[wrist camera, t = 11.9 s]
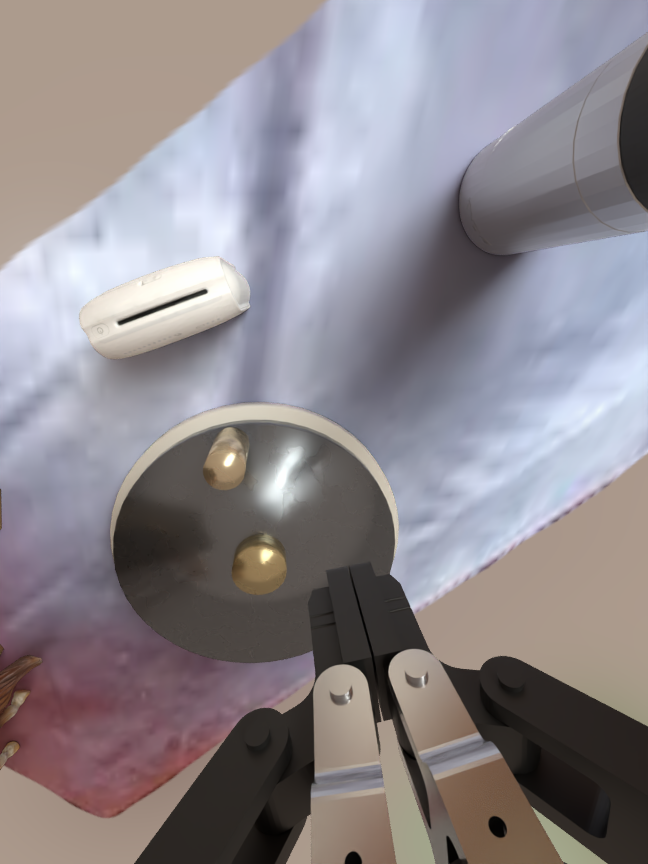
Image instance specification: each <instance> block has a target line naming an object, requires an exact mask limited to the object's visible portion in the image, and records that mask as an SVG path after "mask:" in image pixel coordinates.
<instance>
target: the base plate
mask: <svg viewBox="0 0 648 864" xmlns="http://www.w3.org/2000/svg"><path fill="white" fill-rule="evenodd" d="M242 420H275V421H283V422H289V423H293V424H297V425H301V426H305V427H308V428H310V429H313V430H315V431H318V432H320V433H323V434H325V435H327V436H329V437H330V438H332V439H334V440H336V441H337V442H339V443H341V444H342V445H343V446H345V447H346V448H347V449H349V450H350V451H351V452H352V453H354V454H355V455H356V456H357V457H358V458H359V459H360V460H361V461H362V462H363V463H364V464H365V465H366V467H367V468H368V469H369V471H370V472H371V474H372V475H373V476H374V478H375V479H376V481H377V483H378V485H379V486H380V488H381V490H382V492H383V494H384V496H385V498H386V500H387V502H388V505H389V508H390V511H391V514H392V518H393V524H394V529H395V549H394V557H395V553H396V548H397V543H398V531H399V524H398V512H397V507H396V503H395V499H394V495H393V492H392V490H391V487H390V485H389V482H388V480H387V479H386V477H385V475H384V473H383V472H382V470H381V468H380V466H379V465H378V463H377V462H376V460H375V458H374V457H373V456H372V455H371V453H370V452H369V451H368V450H367V448H366V447H365V446H364V445H363V444H362V443H361V442H360V441H359V440H358V439H357V438H356V437H355V436H354V435H352V434H351V433H350V432H349V431H347V430H346V429H344V428H343V427H342V426H340V425H339V424H337V423H335V422H334V421H332V420H330V419H328V418H326V417H324V416H322V415H320V414H317V413H315V412H312V411H309V410H306V409H304V408H300V407H295V406H291V405H287V404H280V403H270V402H244V403H237V404H231V405H225V406H221V407H217V408H214V409H210V410H207V411H204V412H202V413H199V414H197V415H195V416H192V417H190V418H188V419H186V420H184V421H183V422H181V423H179V424H178V425H176V426H174V427H173V428H171V429H169V430H168V431H167V432H166V433H165V434H163V435H162V436H161V437H160V438H158V439H157V440H156V441H155V442H154V443H153V444H152V445H151V446H150V447H149V448H148V449H147V450H146V452H145V453H144V454H143V455H142V456H141V457H140V458H139V460H138V461H137V462H136V463H135V465H134V466H133V468H132V469H131V471H130V472H129V474H128V475H127V476H126V478H125V480H124V482H123V484H122V486H121V488H120V490H119V492H118V494H117V498H116V501H115V504H114V508H113V511H112V518H111V526H110V538H111V549H112V554H113V537H114V531H115V526H116V520H117V518H118V515H119V512H120V509H121V506H122V504H123V502H124V500H125V498H126V497H127V495H128V493H129V491H130V489H131V488H132V487H133V485H134V484H135V482H136V481H137V480H138V479H139V477H140V476H141V475H142V473H143V472H144V471H145V469H146V468H147V467H148V466H149V465H150V464H151V463H152V462H153V461H154V460H155V459H156V458H157V457H158V456H159V455H160V454H161V453H163V452H164V451H165V450H167V449H168V448H169V447H171V446H172V445H174V444H175V443H177V442H178V441H180V440H182V439H184V438H186V437H188V436H189V435H191V434H193V433H196V432H198V431H201V430H204V429H206V428H209V427H212V426H216V425H220V424H224V423H228V422H234V421H242ZM113 559H114V557H113ZM393 560H394V558H393Z"/></svg>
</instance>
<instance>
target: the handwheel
mask: <svg viewBox="0 0 648 864" xmlns="http://www.w3.org/2000/svg"><path fill="white" fill-rule="evenodd" d="M394 549H395V529H394V524H393V518H392V514H391V511H390V508H389V505H388V502H387V500H386V498H385V496H384V494H383V492H382V490H381V488H380V486H379V485H378V483H377V481H376V479H375V478H374V476H373V475H372V474H371V472H370V471H369V469H368V468H367V467H366V465H365V464H364V463H363V462H362V461H361V460H360V459H359V458H358V457H357V456H356V455H355V454H354V453H352V452H351V451H350V450H349V449H347V448H346V447H345V446H343V445H342V444H341V443H339V442H337V441H336V440H334V439H332V438H330V437H329V436H327V435H325V434H323V433H320V432H318V431H315V430H313V429H310V428H308V427H305V426H301V425H297V424H293V423H289V422H283V421H275V420H242V421H234V422H228V423H224V424H220V425H216V426H212V427H209V428H206V429H204V430H201V431H198V432H196V433H193V434H191V435H189V436H188V437H186V438H184V439H182V440H180V441H178V442H177V443H175V444H174V445H172V446H171V447H169V448H168V449H167V450H165V451H164V452H163V453H161V454H160V455H159V456H158V457H157V458H156V459H155V460H154V461H153V462H152V463H151V464H150V465H149V466H148V467H147V468H146V469H145V471H144V472H143V473H142V475H141V476H140V477H139V479H138V480H137V481H136V482H135V484H134V485H133V487H132V488H131V489H130V491H129V493H128V495H127V497H126V498H125V500H124V502H123V504H122V506H121V509H120V512H119V515H118V518H117V520H116V526H115V531H114V537H113V557H114V564H115V570H116V573H117V576H118V580H119V583H120V586H121V588H122V590H123V592H124V594H125V596H126V598H127V600H128V601H129V603H130V604H131V605H132V607H133V608H134V610H135V611H136V613H137V614H138V615H139V616H140V617H141V618H142V619H143V620H144V621H145V622H146V624H147V625H149V626H150V627H151V628H152V629H153V630H155V631H156V632H157V633H158V634H159V635H161V636H162V637H164V638H166V639H167V640H169V641H170V642H172V643H173V644H175V645H177V646H179V647H181V648H184V649H186V650H188V651H190V652H193V653H196V654H199V655H201V656H204V657H209V658H213V659H217V660H222V661H230V662H240V663H259V662H271V661H277V660H283V659H288V658H291V657H295V656H299V655H302V654H305V653H307V652H310V651H313V645H312V636H311V627H310V617H309V608H308V601H309V599H310V596H311V594H312V591H313V590H314V589H319V588H324V587H329V585H328V579H327V574H326V570H330V569H334V568H339V567H344V566H347V567H348V571H349V565H354V564H358V563H363V562H368V561H370V562H371V565H372V567H373V570H374V573H375V576H381V575H386V574H390V570H391V566H392V563H393V558H394ZM349 575H350V573H349Z"/></svg>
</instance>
